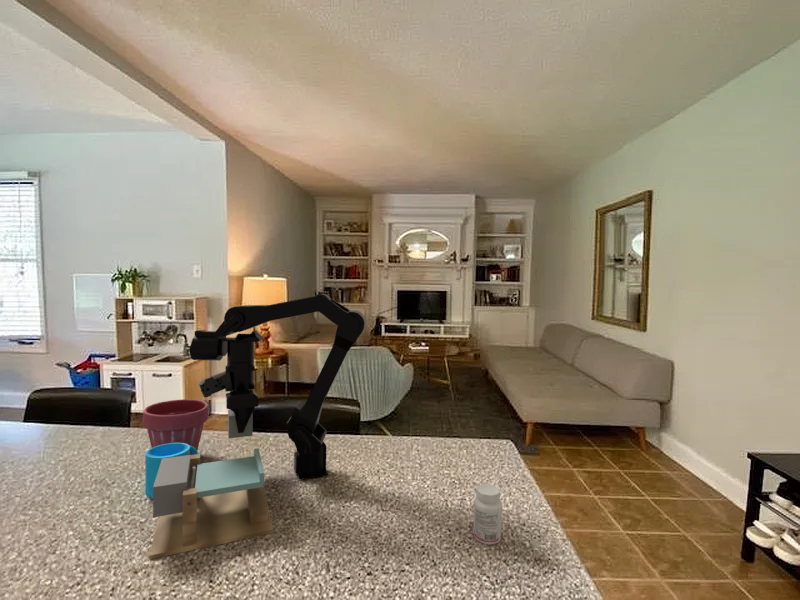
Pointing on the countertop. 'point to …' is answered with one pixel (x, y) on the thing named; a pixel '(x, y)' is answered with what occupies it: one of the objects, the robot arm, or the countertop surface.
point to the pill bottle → (487, 514)
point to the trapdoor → (203, 480)
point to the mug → (155, 457)
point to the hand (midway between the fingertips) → (240, 428)
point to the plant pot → (175, 422)
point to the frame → (211, 519)
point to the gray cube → (233, 426)
